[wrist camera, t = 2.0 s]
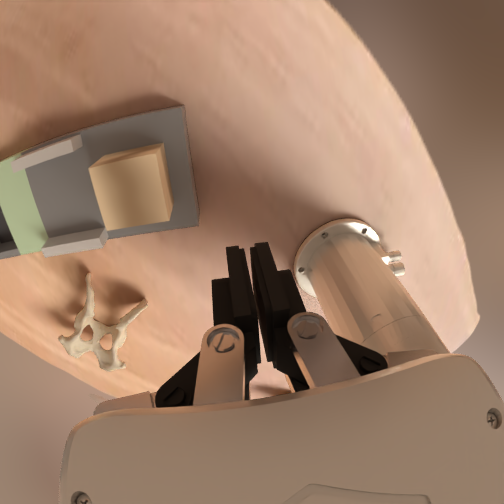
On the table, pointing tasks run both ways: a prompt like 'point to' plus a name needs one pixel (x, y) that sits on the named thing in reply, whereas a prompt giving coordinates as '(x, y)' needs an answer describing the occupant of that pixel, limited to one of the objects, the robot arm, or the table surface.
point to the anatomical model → (99, 333)
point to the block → (133, 187)
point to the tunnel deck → (87, 185)
